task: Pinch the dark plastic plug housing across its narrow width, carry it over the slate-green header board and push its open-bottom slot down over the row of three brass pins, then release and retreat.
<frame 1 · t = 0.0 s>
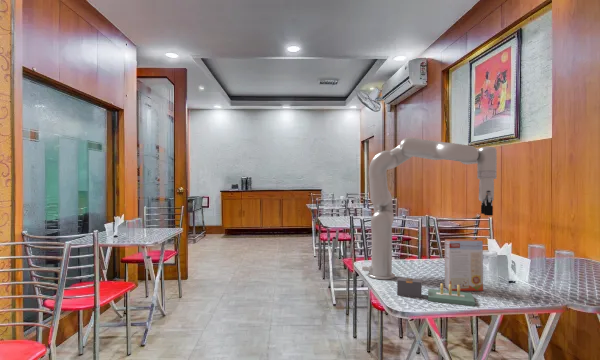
hand: (486, 214, 159), 31 cm above the table, tool pointing down, fingers open, 9 cm apart
header board: (450, 298, 140), on the table
plug housing: (409, 295, 145), on the table
cracker box: (463, 289, 154), on the table
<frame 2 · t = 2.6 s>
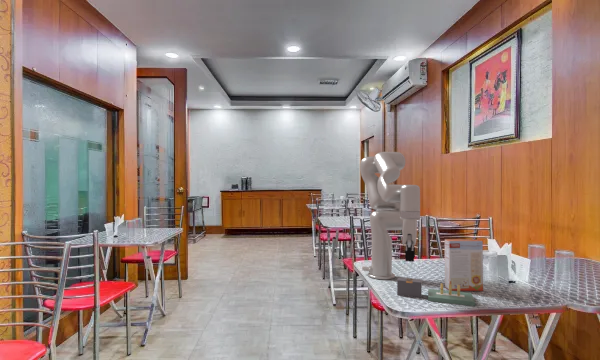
hand: (410, 259, 144), 14 cm above the table, tool pointing down, fingers open, 9 cm apart
nothing on the table moved.
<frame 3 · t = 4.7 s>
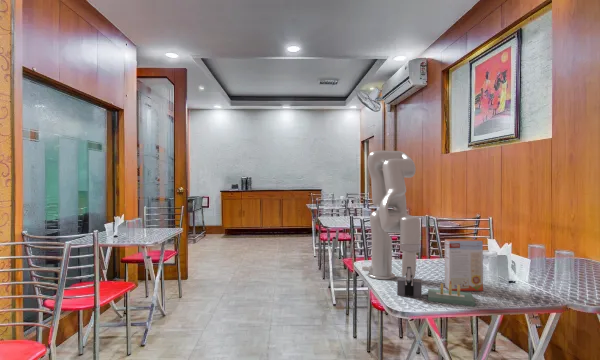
hand: (409, 293, 145), 1 cm above the table, tool pointing down, fingers closed on plug housing, 5 cm apart
plug housing: (409, 294, 145), on the table, touching gripper
everything else where it was.
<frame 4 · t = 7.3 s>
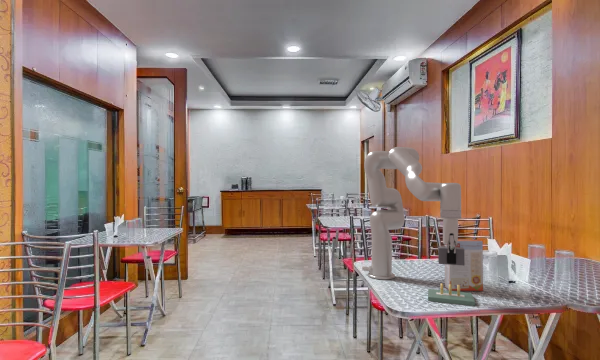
hand: (451, 261, 140), 14 cm above the table, tool pointing down, fingers closed on plug housing, 5 cm apart
plug housing: (451, 263, 140), point 14 cm above the table, touching gripper
everything else where it was.
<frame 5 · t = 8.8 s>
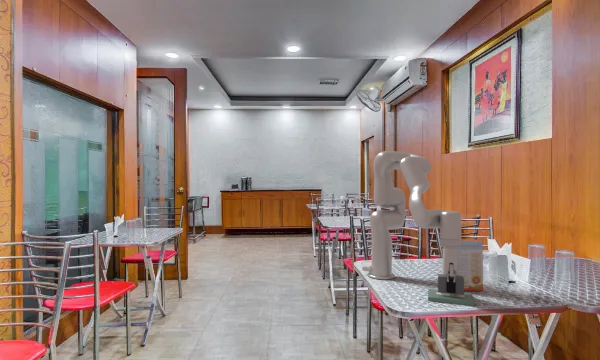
hand: (450, 290, 140), 3 cm above the table, tool pointing down, fingers closed on plug housing, 5 cm apart
plug housing: (450, 291, 140), point 3 cm above the table, touching gripper
everything else where it was.
when the fingers open (3 cm above the table, at t = 10.0 s): plug housing stays where it is, resting on header board.
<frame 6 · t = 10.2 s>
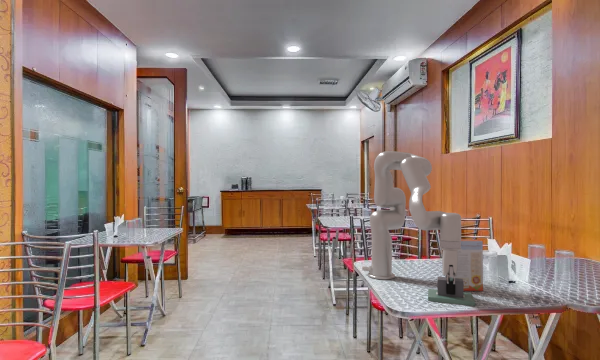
hand: (450, 291, 140), 3 cm above the table, tool pointing down, fingers open, 6 cm apart
plug housing: (450, 294, 140), point 1 cm above the table, touching header board
everything else where it was.
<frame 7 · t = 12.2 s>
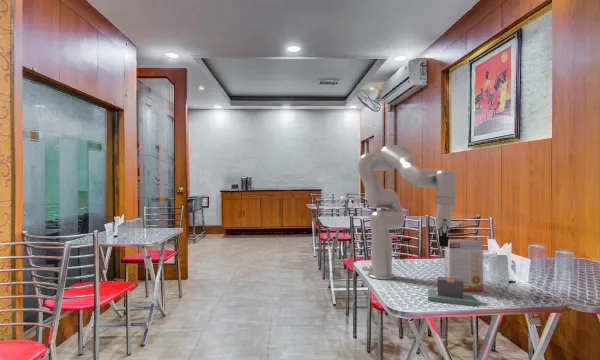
hand: (443, 244, 144), 20 cm above the table, tool pointing down, fingers open, 9 cm apart
nothing on the table moved.
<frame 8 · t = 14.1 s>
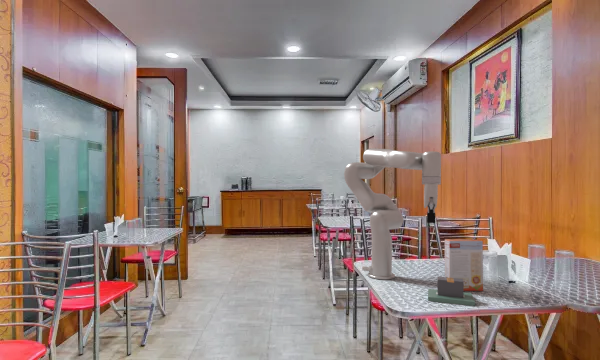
hand: (431, 221, 153), 28 cm above the table, tool pointing down, fingers open, 9 cm apart
nothing on the table moved.
at the end: plug housing 0.1 cm off-centre on the header board, point 1.5 cm above the header board's base; plug housing tilted 0°; the gripper is holding nothing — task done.
